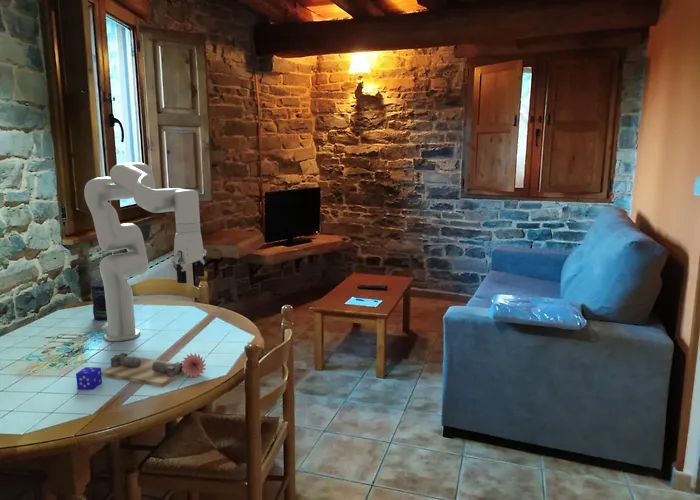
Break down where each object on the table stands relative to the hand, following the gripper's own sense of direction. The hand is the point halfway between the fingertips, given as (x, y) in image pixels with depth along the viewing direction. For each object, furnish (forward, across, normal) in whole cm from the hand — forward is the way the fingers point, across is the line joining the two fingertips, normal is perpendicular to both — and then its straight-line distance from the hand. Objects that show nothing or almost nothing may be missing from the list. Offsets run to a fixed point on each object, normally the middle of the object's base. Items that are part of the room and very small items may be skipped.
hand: (191, 279), depth 176 cm
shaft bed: (+28, +15, -8) cm, 32 cm away
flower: (+28, +11, +7) cm, 31 cm away
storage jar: (+28, -27, -64) cm, 74 cm away
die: (+28, +29, -17) cm, 43 cm away
